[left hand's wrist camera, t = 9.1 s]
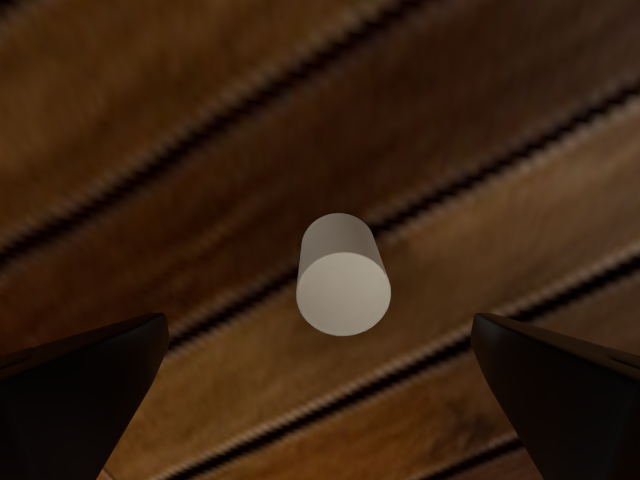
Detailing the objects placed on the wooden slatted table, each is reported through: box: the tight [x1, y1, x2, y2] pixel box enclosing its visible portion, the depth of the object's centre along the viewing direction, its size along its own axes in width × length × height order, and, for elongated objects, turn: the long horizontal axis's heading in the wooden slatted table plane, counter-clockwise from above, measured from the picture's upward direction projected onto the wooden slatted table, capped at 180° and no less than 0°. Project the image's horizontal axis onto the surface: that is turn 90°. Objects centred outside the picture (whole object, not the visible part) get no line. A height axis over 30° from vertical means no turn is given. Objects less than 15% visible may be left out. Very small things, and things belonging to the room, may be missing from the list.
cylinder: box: [296, 213, 391, 336], centre depth 18 cm, size 4×4×5 cm
